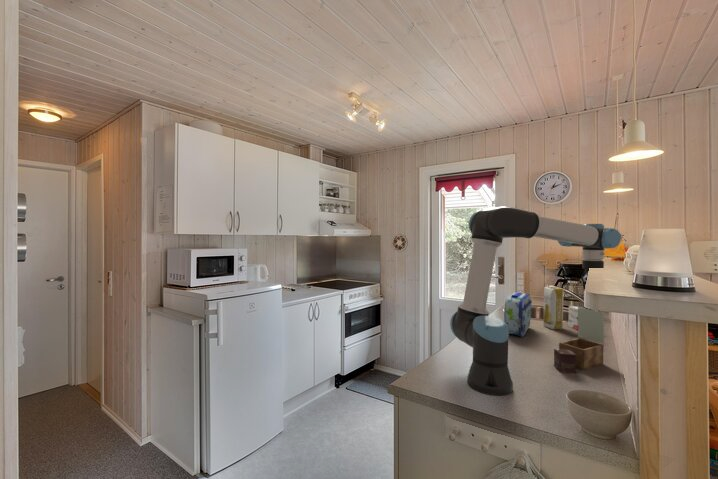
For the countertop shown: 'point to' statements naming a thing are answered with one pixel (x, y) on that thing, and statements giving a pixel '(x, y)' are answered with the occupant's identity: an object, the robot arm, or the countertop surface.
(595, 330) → the lid
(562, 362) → the box
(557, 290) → the juice carton
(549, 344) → the countertop surface
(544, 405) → the countertop surface
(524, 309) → the lunch box
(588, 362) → the crate
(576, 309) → the ink box
